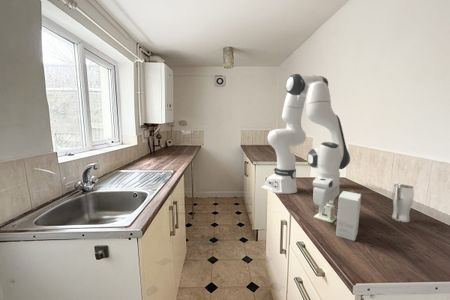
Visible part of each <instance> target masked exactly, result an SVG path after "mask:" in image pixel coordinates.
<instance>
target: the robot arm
mask: <svg viewBox="0 0 450 300" xmlns="http://www.w3.org/2000/svg"><path fill="white" fill-rule="evenodd" d="M329 88H330V87H329V81H328V79H327V78H326V77H324V76H322V75H315V74H309V73H308V74H305V73H304V74H301V73H294V74H291V75H290V76H289V77H288V78H287V79H286V82H285V90H286V92H287V94H286V96H285V99H284V104H283V107H282V112H281V119H282V120H283V121H284V122H285V123H286V128H276V129H272V130H270V131H269V133H268V134H267V143H268V145H270V146H271V147H272V148H273V150H274V151H275V154H276V167H274V168H273V170H272V171H274V173H273V174H271V175H269V176H268V177H266V180H265V184H263V185H261V189H264V190H266V191H268V192H269V191H270V192H272V193H275V194H279V195H282V194H285V195H286V194H287V195H288V194H295V193H298V189H297V188H298V187H297V184H296V183H297V182H296V177H297V169H296V163H297V162H296V156H295V154H294V153H292V152H291V150H290V147H297V146H300V145H303V144H304V143H305V142H306V140H307V139H306V138H307V135H306V132H305V131H304V129H303V127H302V117H303V110H304V107H305V112H306V116H307V118H308V119H309V120H310V121H311V122H312V123H314V124H317V125H320V126H322V127H324V128H326V129H328V130H329V132H330V136H331V140H332V142H330V141H328V142H327V141H324V142H321V143H319V146H317V147H315V148H311V149H310V150H309V151H308V153H307V156H306V157H307V158H306V159H307V160H306V161H307V164H308V165H309V166H310V167H311V168H314V169H317V172H316V173H317V175H316V177H315V178H314V179H313V181H312V187H313V190H312V191H313V193H312V195H313V197H312V198H313V199H312V200H313V204H314V205H316V206H318V213H319V212H320V213H324V212H325V209H324V206H325V204H330V205H334V203H335V199H336V197H339V196H340V179H341V178H340V177H341V176H340V175H341V171H340V170H343V169H345V168H346V167H347V166H348V165H349V164H350V161H351V156H350V153H349V151H348V148H347V144H346V140H345V136H344V131H343V126H342V124H341V119H340V117H339V115H337V114H335V111H334V110H333V108H332V104H331V103H332V102H331V94H330V89H329ZM319 209H320V211H319Z"/></svg>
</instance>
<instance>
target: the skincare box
mask: <svg viewBox="0 0 450 300" xmlns="http://www.w3.org/2000/svg"><path fill="white" fill-rule="evenodd" d="M361 201H362V194H361V193H357V192H355V193H352V192H349V191H346V190H345V191H344V190H343V191H341V193H340V194H339V195H338V204H337V215H336V216H337V219H336V221H337V226H336V231H335V236H336V237H338V238H344V239H347V240H349V241H353V242H355V240H356V239H357V236H358V233H359V222H360V221H359V220H360V210H361Z"/></svg>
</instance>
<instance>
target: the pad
mask: <svg viewBox="0 0 450 300" xmlns="http://www.w3.org/2000/svg"><path fill="white" fill-rule="evenodd" d="M313 218H314V219H318V220H321V221H324V222H328V223H331V224H334V222H335V221H337V215H335V214H334V217H333V218H332V219H331V220H329V219H326V218H322V217H319V212H318V213H316V214H315V215H314V216H313Z"/></svg>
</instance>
